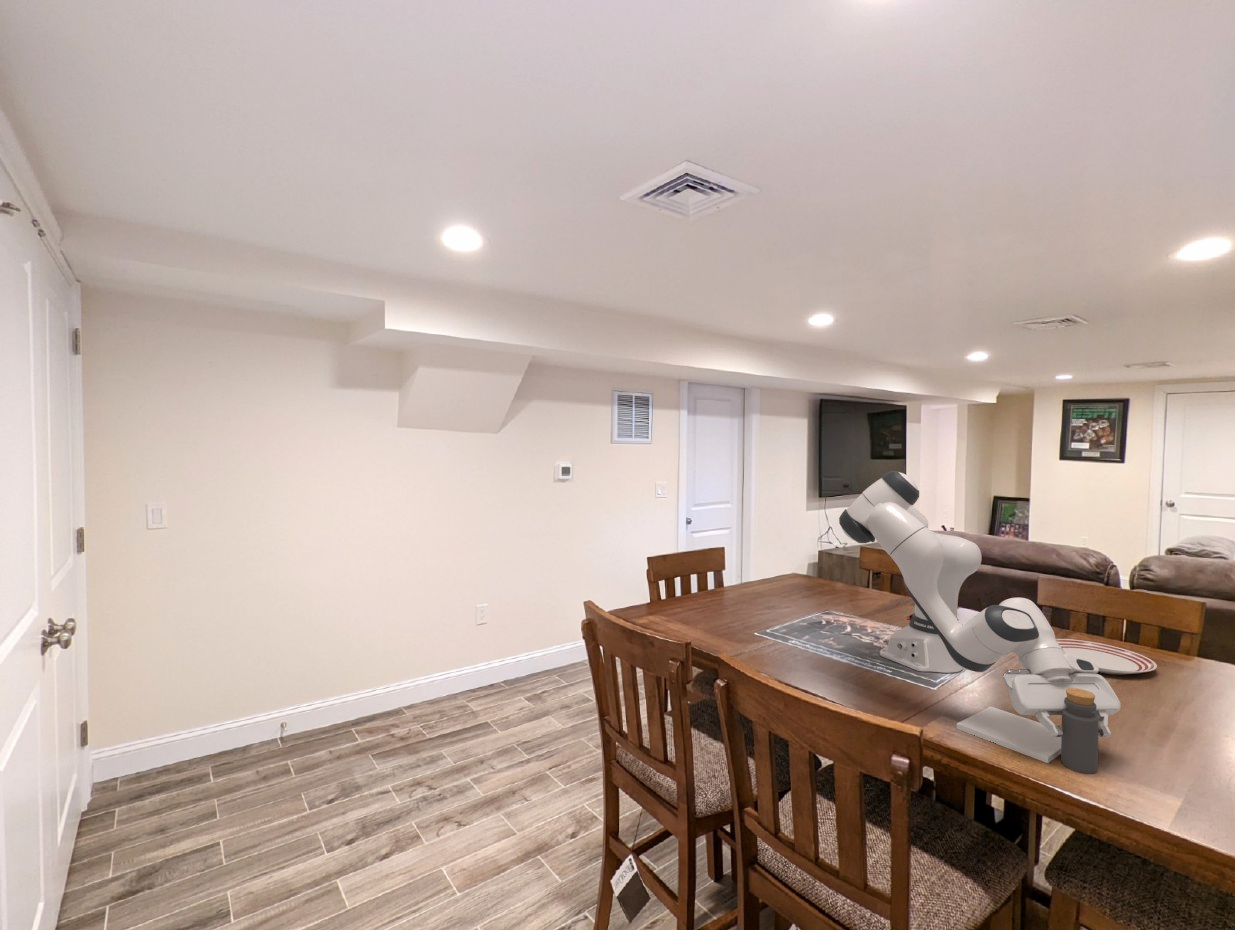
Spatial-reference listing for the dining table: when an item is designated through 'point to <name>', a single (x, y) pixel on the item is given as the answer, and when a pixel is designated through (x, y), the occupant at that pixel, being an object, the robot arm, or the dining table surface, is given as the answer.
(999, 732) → the grey board
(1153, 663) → the dinner plate
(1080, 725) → the bottle
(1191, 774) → the dining table surface
